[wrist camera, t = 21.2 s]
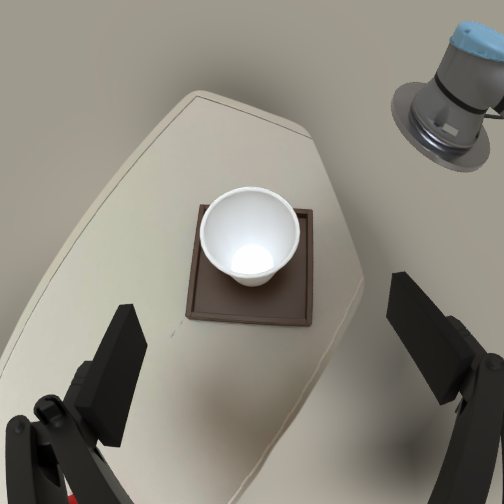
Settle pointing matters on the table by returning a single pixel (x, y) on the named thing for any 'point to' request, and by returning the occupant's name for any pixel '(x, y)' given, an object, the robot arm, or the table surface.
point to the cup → (249, 234)
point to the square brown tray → (259, 297)
